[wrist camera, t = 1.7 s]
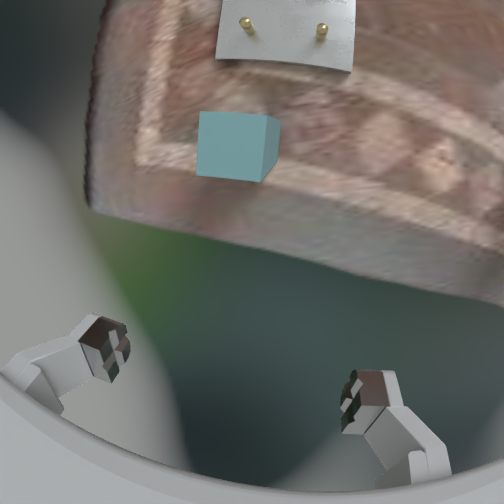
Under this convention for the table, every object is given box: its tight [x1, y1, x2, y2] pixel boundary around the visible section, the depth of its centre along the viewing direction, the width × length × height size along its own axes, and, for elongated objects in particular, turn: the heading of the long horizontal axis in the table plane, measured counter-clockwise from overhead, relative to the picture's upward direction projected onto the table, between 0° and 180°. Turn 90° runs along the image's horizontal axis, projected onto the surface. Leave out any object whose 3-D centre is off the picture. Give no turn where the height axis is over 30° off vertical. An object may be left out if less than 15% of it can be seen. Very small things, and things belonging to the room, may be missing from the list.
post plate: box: [215, 0, 355, 74], centre depth 22 cm, size 16×16×5 cm
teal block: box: [196, 111, 281, 182], centre depth 26 cm, size 5×5×14 cm
